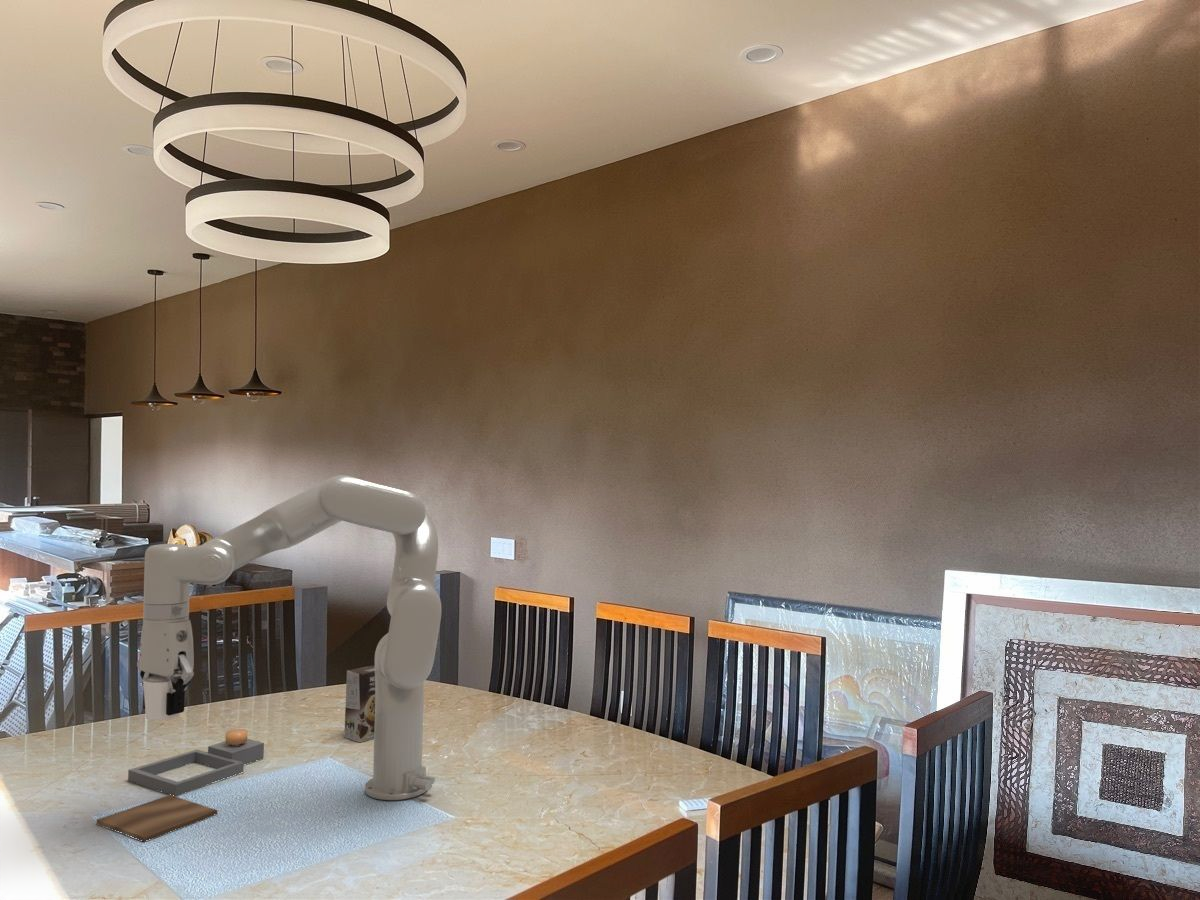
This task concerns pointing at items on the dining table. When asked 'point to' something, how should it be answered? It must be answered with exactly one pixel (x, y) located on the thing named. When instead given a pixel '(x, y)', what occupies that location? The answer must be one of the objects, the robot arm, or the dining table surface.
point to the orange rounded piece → (236, 737)
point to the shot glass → (156, 697)
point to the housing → (217, 756)
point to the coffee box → (360, 704)
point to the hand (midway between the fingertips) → (163, 709)
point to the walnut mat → (156, 817)
